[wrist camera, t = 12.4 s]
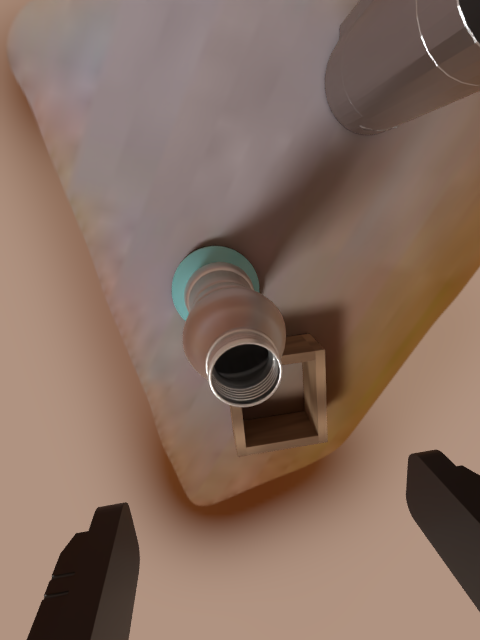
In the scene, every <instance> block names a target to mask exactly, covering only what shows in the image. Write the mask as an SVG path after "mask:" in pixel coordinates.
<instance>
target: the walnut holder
mask: <svg viewBox="0 0 480 640" xmlns="http://www.w3.org/2000/svg"><path fill="white" fill-rule="evenodd" d="M281 362H282V365H286V364H293V363H300V362H302V367H303V388H304V408H305V411H302V412H296V413H289V414H283V415H277V416H271V417H264V418H258V419H252V420H246V421H243V415H242V407H235V406H231V405H230V411H231V419H232V427H233V433H234V439H235V444H236V450H237V455H238V457H241V456H247V455H253V454H259V453H265V452H271V451H277V450H282V449H288V448H294V447H300V446H306V445H312V444H318V443H324V442H328V440H327V404H326V368H325V349H324V348H323V347H322V346H321V345H320V344H319V343H318V342H317V341H316V340H315V339H314V338H313V337H312V336H311V335H310V334H302V335H295V336H288V337H286V341H285V349H284V351H283V354H282V357H281Z"/></svg>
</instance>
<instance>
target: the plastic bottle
mask: <svg viewBox="0 0 480 640" xmlns="http://www.w3.org/2000/svg"><path fill="white" fill-rule="evenodd" d="M184 300H185V305H186V308H187V310H188V312H189V315H188V317H187V319H186V322H185V326H184V330H183V338H182V343H183V349H184V353H185V355H186V357H187V360H188V361H189V363H190V364H191V365H192V367H193V368H194V369H195V370H196V371H197V372H198V373H199V374H200V375H201V376H202V377H203V378H205V379H207V380H208V382H209V385H210V388H211V390H212V392H213V393H214V394H215V396H216V397H217V398H218V399H219V400H221V401H222V402H224V403H226V404H228V405H231V406H235V407H250V406H255V405H257V404H260V403H262V402H264V401H266V400H267V399H268V398H270V397H271V396H272V395H273V394H274V393H275V391H276V390H277V388H278V387H279V385H280V383H281V380H282V374H283V370H282V362H281V357H282V354H283V351H284V349H285V341H286V328H285V323H284V320H283V316H282V315H281V313H280V311H279V309H278V308H277V307H276V306H275V305H274V303H273V302H272V301H270V300H269V299H268V298H266V297H265V296H263V295H262V294H261V293H258V292H256V291H254V288H253V284H252V281H251V280H250V278H249V276H248V275H247V274H246V273H245V272H244V271H243V270H242V269H241V268H239V267H238V266H236V265H233V264H231V263H226V262H214V263H210V264H207V265H204V266H202V267H201V268H199V269H198V270H197V271H195V272H194V273H193V274H192V276H191V277H190V278H189V280H188V282H187V284H186V287H185V291H184Z"/></svg>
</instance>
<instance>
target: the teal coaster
mask: <svg viewBox="0 0 480 640" xmlns="http://www.w3.org/2000/svg"><path fill="white" fill-rule="evenodd" d="M214 262H226V263H231V264H233V265H236V266H238V267H239V268H241V269H242V270H243V271H244V272H245V273H246V274H247V275H248V276H249V278H250V280H251V281H252V284H253V288H254V291H256V292H258V293H259V281H258V277H257V274H256V272H255V270H254V268H253V266H252V265H251V263H250V262H249V261H248V260H247V259H246V258H245V257H244V256H243V255H241V254H240V253H239V252H237V251H235V250H233V249H231V248H228V247H224V246H206V247H202V248H199V249H197V250H195V251H193V252H192V253H190V254H189V255H188V256H186V257H185V258H184V259H183V261H182V262H181V263H180V264H179V266H178V268H177V270H176V272H175V275H174V278H173V282H172V298H173V302H174V305H175V307H176V309H177V311H178V313H179V314H180V316H181V317H182V318H183V319H184V320H185V321H186V319H187V317H188V315H189V312H188V310H187V308H186V305H185V300H184V291H185V287H186V284H187V282H188V280H189V278H190V277H191V276H192V274H193V273H194V272H195V271H197V270H198V269H199V268H201V267H202V266H204V265H207V264H210V263H214Z"/></svg>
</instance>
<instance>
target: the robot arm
mask: <svg viewBox="0 0 480 640" xmlns="http://www.w3.org/2000/svg"><path fill="white" fill-rule="evenodd" d="M325 91H326V97H327V101H328V104H329V106H330V109H331V111H332V113H333V114H334V116H335V117H336V119H337V120H338V121H339V122H340V123H341V124H342V125H343V126H344V127H345V128H347V129H349V130H350V131H352V132H355V133H358V134H362V135H373V134H378V133H382V132H384V131H386V130H390V129H392V128H395V127H397V126H399V125H401V124H403V123H405V122H408V121H410V120H413V119H415V118H417V117H420V116H422V115H424V114H427V113H429V112H431V111H434V110H436V109H438V108H441V107H443V106H445V105H448V104H450V103H452V102H455V101H457V100H459V99H462V98H464V97H466V96H469V95H471V94H473V93H476V92H478V91H480V0H360V1H359V3H358V4H357V5H356V6H355V8H354V9H353V10H352V11H351V13H350V14H349V15H348V17H347V18H346V19H345V20H344V22H343V23H342V24H341V26H340V36H339V41H338V43H337V45H336V46H335V48H334V50H333V52H332V53H331V56H330V58H329V61H328V64H327V69H326V75H325ZM406 500H407V504H408V508H409V511H410V513H411V515H412V517H413V519H414V520H415V522H416V523H417V525H418V526H419V527H420V529H421V530H422V532H423V533H424V534H425V536H426V537H427V539H428V540H429V541H430V543H431V544H432V545H433V547H434V548H435V550H436V551H437V552H438V554H439V555H440V557H441V558H442V559H443V561H444V562H445V564H446V565H447V566H448V568H449V569H450V571H451V572H452V574H453V575H454V576H455V578H456V579H457V580H458V582H459V583H460V585H461V586H462V588H463V589H464V590H465V591H466V593H467V595H468V596H469V597H470V599H471V600H472V602H473V603H474V604H475V606H476V607H477V609H478V610H479V611H480V475H478V474H476V473H474V472H473V471H471V470H469V469H467V468H466V467H464V466H455V465H454V464H453V463H452V462H451V461H450V460H449V459H448V458H447V457H446V456H445V455H444V454H443V453H442V452H440V451H439V450H431V451H426V452H420V453H414V454H411V455H410V456H409V458H408V470H407V487H406ZM139 564H140V556H139V545H138V540H137V536H136V532H135V528H134V525H133V520H132V516H131V512H130V508H129V505H128V503H120V504H114V505H108V506H103V507H98V508H97V509H96V511H95V514H94V516H93V519H92V522H91V525H90V528H89V531H87V532H81V533H76V534H75V536H74V537H73V538H72V539H71V541H70V542H69V543H68V545H67V546H66V547H65V549H64V550H63V551H62V552H61V554H60V556H59V559H58V561H57V564H56V566H55V569H54V572H53V574H52V580H51V581H50V582H49V584H48V587H47V590H46V592H45V594H44V600H42V602H41V605H40V607H39V610H38V612H37V615H36V617H35V620H34V623H33V625H32V628H31V630H30V633H29V635H28V638H27V640H128V638H129V633H130V626H131V619H132V613H133V606H134V600H135V593H136V587H137V580H138V574H139Z"/></svg>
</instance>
